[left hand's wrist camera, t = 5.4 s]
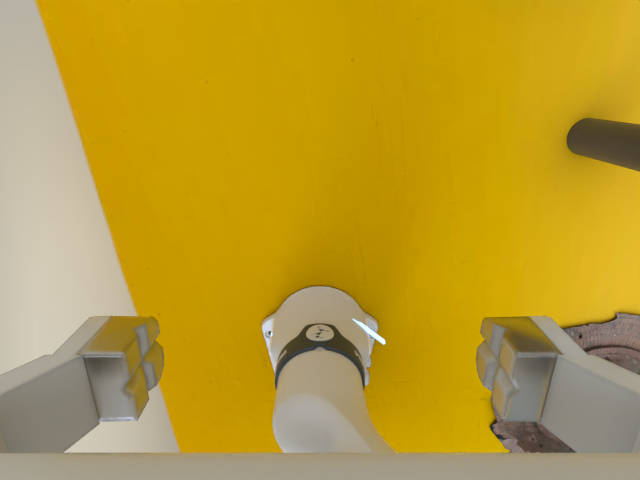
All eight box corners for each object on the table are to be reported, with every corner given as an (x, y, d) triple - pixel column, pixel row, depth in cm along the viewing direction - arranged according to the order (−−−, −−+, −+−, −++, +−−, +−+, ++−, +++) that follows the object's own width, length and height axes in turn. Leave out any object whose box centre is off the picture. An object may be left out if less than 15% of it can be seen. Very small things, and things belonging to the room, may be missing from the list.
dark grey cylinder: (568, 121, 54) (686, 139, 37) (605, 115, 54) (741, 131, 37) (565, 157, 56) (677, 190, 39) (601, 151, 56) (730, 183, 38)
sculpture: (638, 472, 78) (714, 564, 63) (463, 449, 76) (499, 539, 61) (729, 328, 66) (848, 399, 51) (525, 296, 64) (587, 361, 49)
